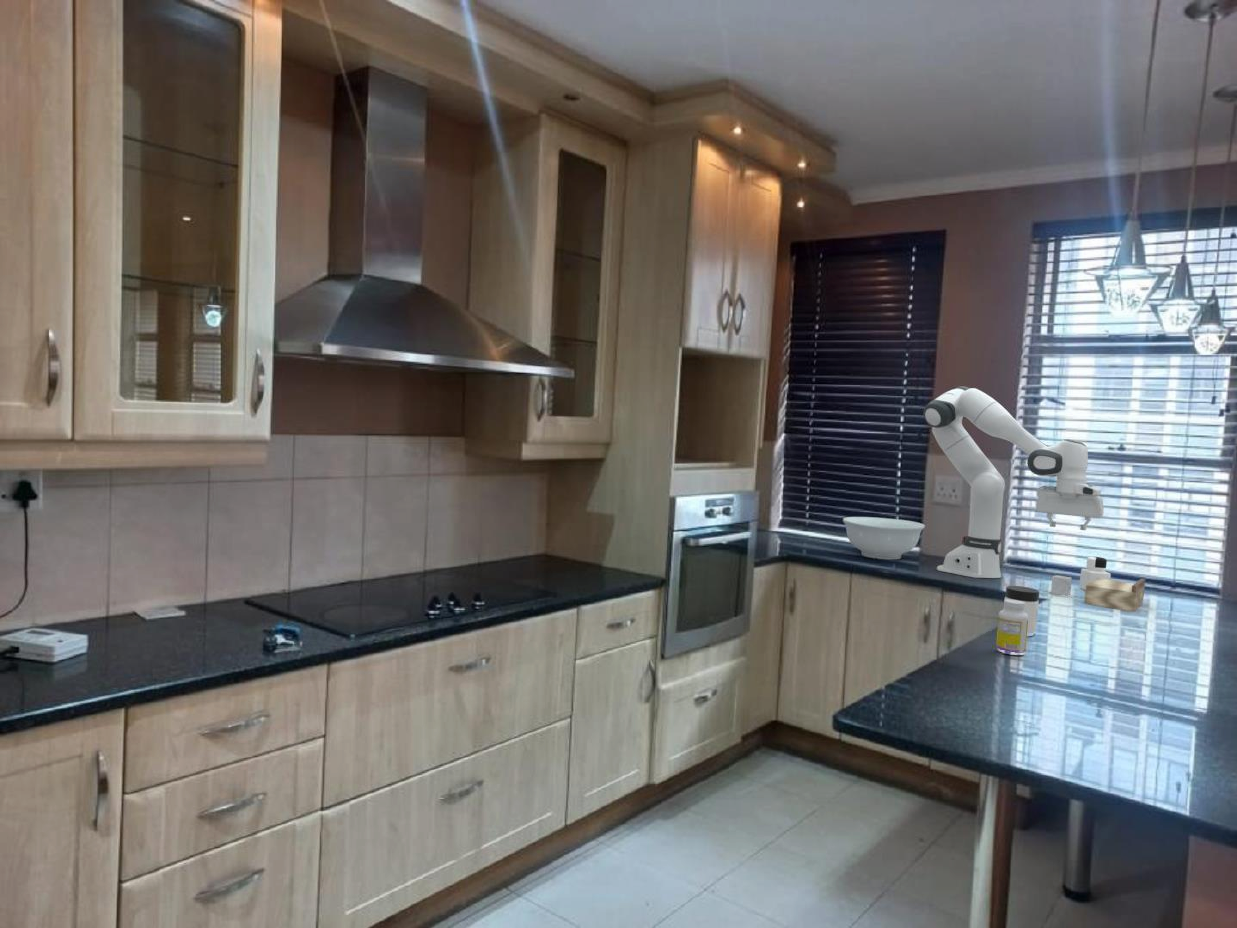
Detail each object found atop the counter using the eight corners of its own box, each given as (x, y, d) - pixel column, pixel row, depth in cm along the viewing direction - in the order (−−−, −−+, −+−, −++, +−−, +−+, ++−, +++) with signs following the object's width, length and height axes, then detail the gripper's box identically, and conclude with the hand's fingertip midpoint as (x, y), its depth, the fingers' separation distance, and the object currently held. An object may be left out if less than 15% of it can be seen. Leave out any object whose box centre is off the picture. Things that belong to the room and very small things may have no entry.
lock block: (1050, 594, 291) (1052, 576, 290) (1054, 592, 295) (1055, 575, 294) (1067, 596, 288) (1068, 579, 287) (1070, 594, 292) (1071, 577, 291)
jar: (1043, 635, 229) (1047, 591, 229) (1022, 637, 226) (1026, 593, 225) (1015, 627, 237) (1019, 584, 237) (994, 629, 234) (998, 585, 233)
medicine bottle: (1099, 589, 305) (1103, 556, 304) (1109, 593, 298) (1112, 559, 297) (1078, 588, 306) (1082, 554, 305) (1087, 592, 299) (1091, 558, 298)
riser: (1084, 603, 278) (1086, 579, 277) (1095, 595, 293) (1097, 572, 293) (1134, 611, 269) (1136, 586, 269) (1142, 602, 285) (1145, 579, 284)
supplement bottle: (1010, 648, 214) (1014, 598, 213) (1031, 656, 208) (1036, 604, 207) (989, 649, 211) (993, 598, 211) (1010, 657, 205) (1014, 604, 204)
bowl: (824, 552, 351) (827, 517, 351) (866, 547, 374) (869, 514, 373) (896, 566, 328) (899, 528, 327) (936, 560, 350) (939, 524, 349)
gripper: (1035, 485, 294) (1032, 525, 294) (1102, 490, 280) (1098, 532, 281) (1040, 484, 298) (1037, 524, 299) (1106, 490, 285) (1103, 531, 286)
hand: (1067, 528), depth 290 cm, fingers open, 8 cm apart
